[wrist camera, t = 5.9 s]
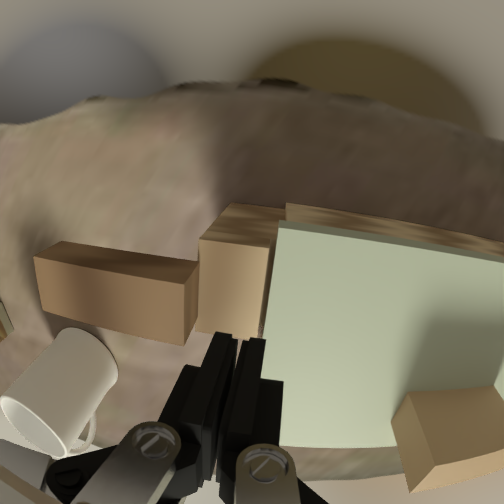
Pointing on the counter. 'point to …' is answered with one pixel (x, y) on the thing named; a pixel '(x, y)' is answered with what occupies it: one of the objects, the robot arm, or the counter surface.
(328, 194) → the counter surface
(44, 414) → the mug
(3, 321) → the skincare box
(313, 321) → the lid
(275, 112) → the counter surface
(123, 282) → the rectangular brown block
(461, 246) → the tan wooden open box
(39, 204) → the counter surface
